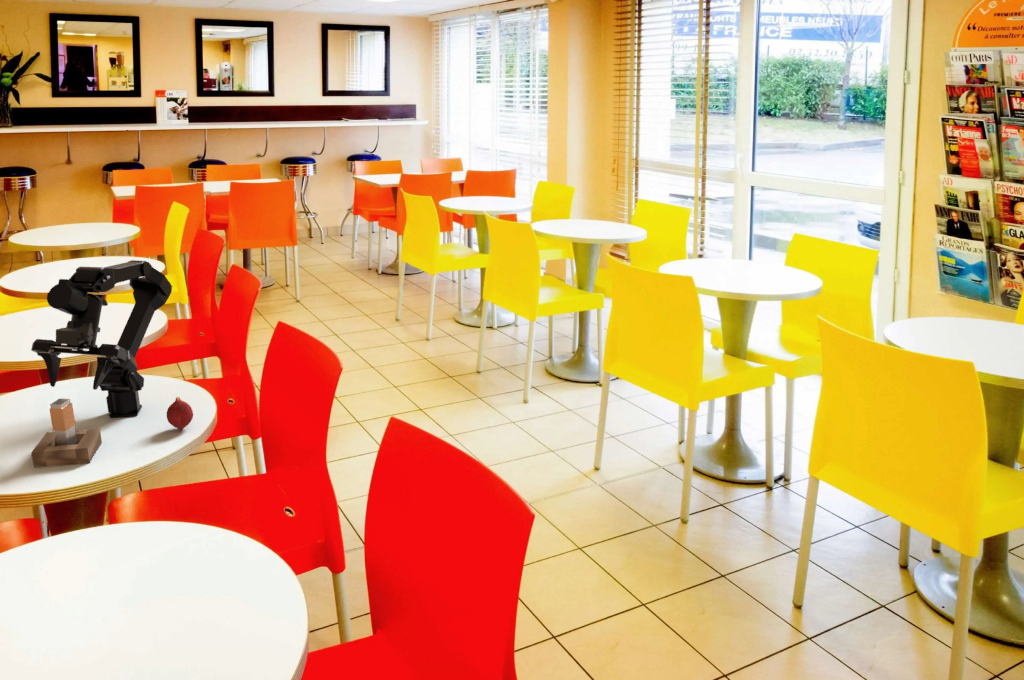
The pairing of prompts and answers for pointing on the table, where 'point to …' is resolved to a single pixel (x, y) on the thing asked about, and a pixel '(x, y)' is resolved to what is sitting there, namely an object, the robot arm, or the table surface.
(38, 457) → the block
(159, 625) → the table surface
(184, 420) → the onion
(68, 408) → the banded grey brick
